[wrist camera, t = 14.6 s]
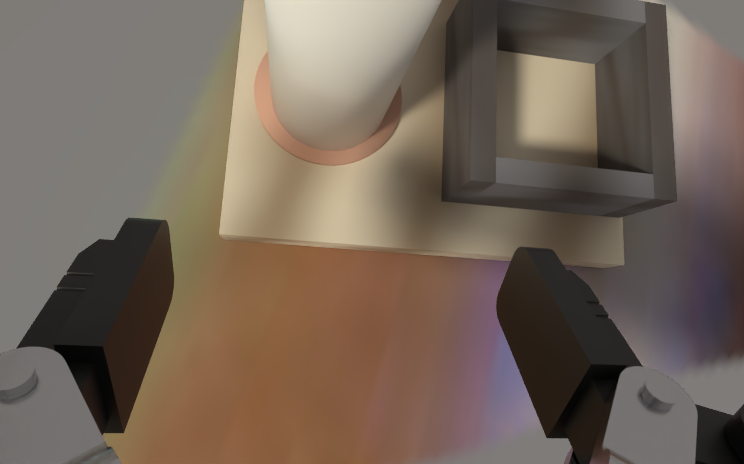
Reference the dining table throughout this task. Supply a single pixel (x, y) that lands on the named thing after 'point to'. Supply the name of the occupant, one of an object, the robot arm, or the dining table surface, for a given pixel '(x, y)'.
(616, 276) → the dining table surface
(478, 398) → the dining table surface
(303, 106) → the cylinder
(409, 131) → the socket board
